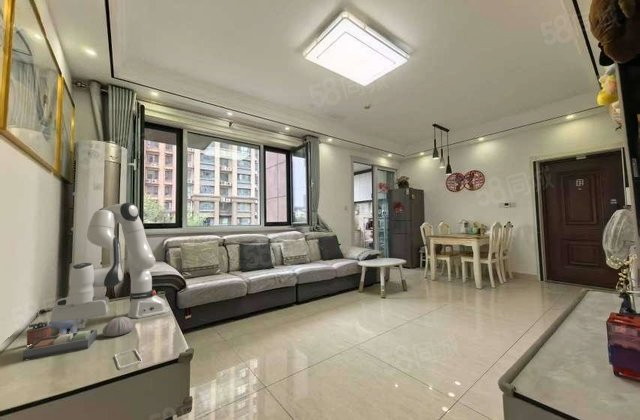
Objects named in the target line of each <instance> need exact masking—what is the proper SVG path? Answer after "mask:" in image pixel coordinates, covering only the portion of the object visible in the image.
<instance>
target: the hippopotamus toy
mask: <svg viewBox="0 0 640 420" xmlns="http://www.w3.org/2000/svg"><path fill="white" fill-rule="evenodd" d="M77 322H78V323H79V324H81V322H82V319H78V321H77ZM47 325H51V328H50V330H52V329H53V328H55V329H56V328H58V329H59V331H58V332H59V333H57V335H61V334H68V333H69V334H70V333H74V332H78V329H76V325H75V324H74V323H73V320H68V321H61V322H52V321H51V320H50V321H48V324H47ZM67 329H68V330H69V331H68V330H67Z"/></svg>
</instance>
